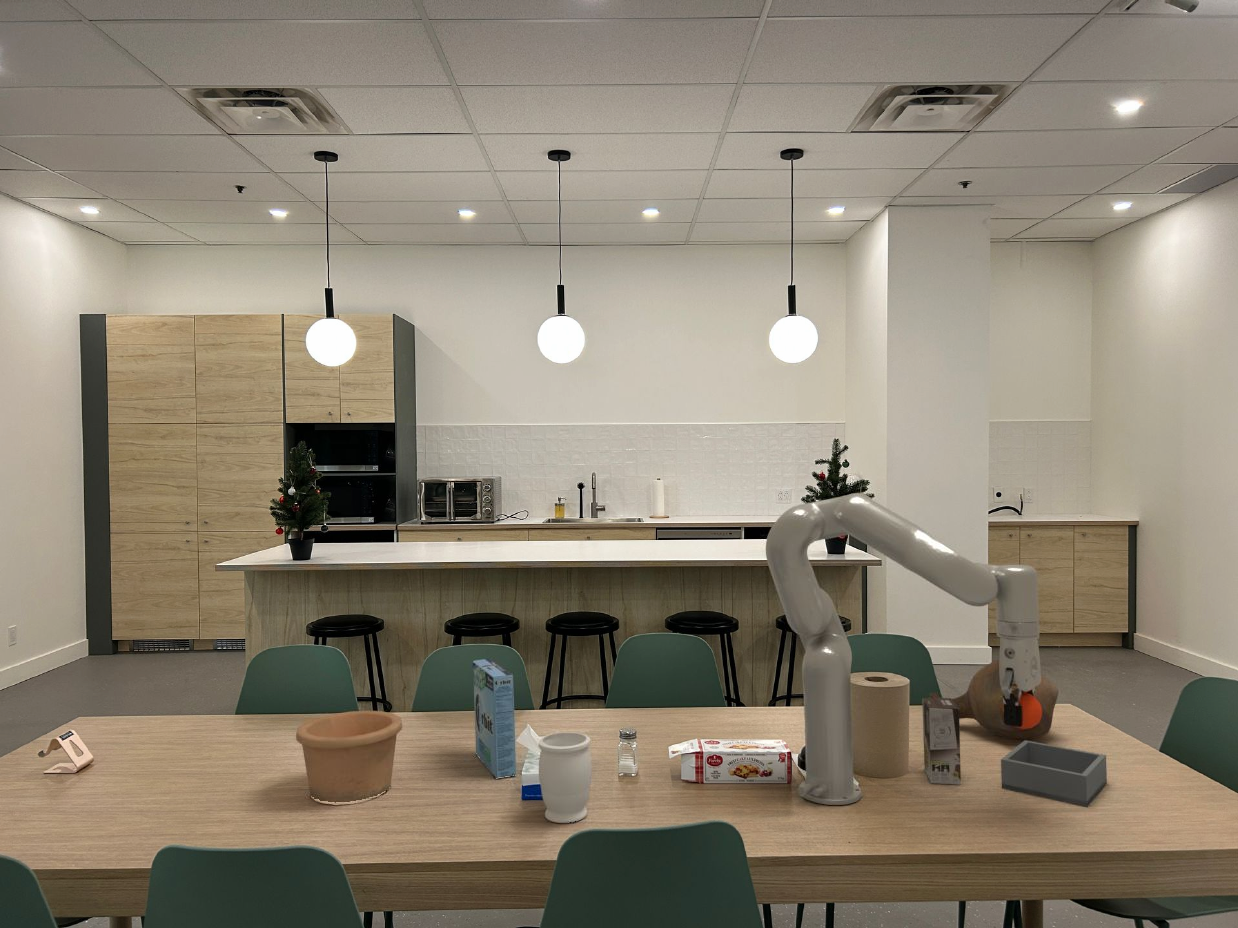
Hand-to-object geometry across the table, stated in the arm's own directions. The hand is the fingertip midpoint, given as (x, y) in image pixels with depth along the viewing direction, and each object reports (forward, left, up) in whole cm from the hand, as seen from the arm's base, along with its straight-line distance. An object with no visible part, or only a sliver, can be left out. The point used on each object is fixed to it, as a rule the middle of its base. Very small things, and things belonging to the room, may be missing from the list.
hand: (1020, 720), depth 165 cm
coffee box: (+9, +19, -18) cm, 28 cm away
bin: (+18, -1, -18) cm, 25 cm away
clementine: (0, 0, -2) cm, 2 cm away
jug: (+46, +21, -18) cm, 54 cm away
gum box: (-47, +102, -18) cm, 114 cm away
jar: (-57, +68, -18) cm, 91 cm away
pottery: (-77, +114, -18) cm, 139 cm away
